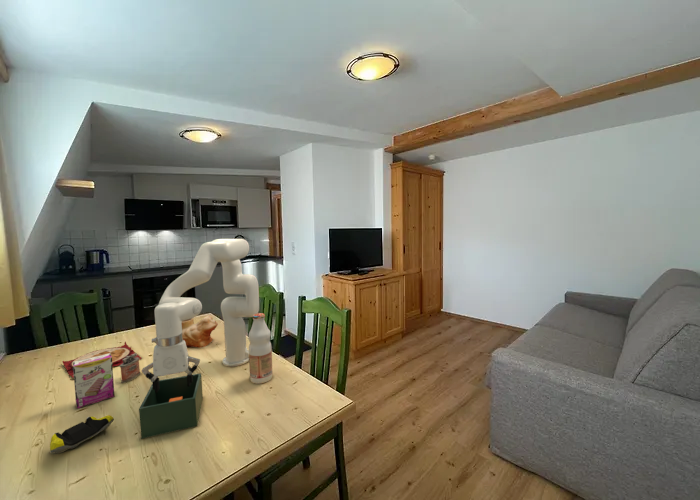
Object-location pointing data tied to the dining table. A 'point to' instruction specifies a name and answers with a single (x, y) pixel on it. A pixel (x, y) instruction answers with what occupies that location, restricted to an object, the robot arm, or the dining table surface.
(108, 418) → the black and yellow piece
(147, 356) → the dining table surface
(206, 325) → the ceramic vessel
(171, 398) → the orange rectangular block
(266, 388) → the dining table surface
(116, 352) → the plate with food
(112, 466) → the dining table surface
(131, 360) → the red metal can
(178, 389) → the trash bin
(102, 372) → the candy bar box
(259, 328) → the fruit juice
